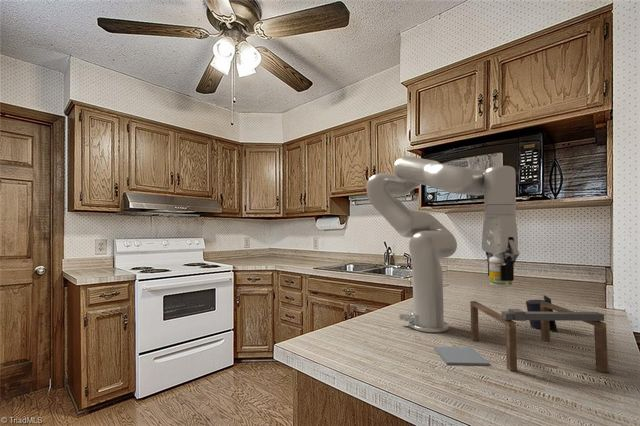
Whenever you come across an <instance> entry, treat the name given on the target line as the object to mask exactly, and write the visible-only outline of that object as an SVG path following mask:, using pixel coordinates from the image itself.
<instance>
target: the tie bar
mask: <svg viewBox="0 0 640 426" xmlns="http://www.w3.org/2000/svg"><path fill="white" fill-rule="evenodd" d="M500 314H501V315H502V318H503V319H505V320H512V321H514V322H521V321H523V322H525V321H529V320H554V321H555V322H556V321H560V322H561V321H565V322H566V321H570V322H571V321H573V322H574V321H578V322H579V321H580V322H583V321H601V322H604V321H605V313H601V312H599V311H573V312H557V311H553V312H530V311H527V310H526V311H524V310H522V309H520V308H508V309H507V311H506V310H503V311H501V313H500Z"/></svg>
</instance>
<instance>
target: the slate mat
mask: <svg viewBox="0 0 640 426" xmlns="http://www.w3.org/2000/svg"><path fill="white" fill-rule="evenodd" d="M433 349H434V350H435V352H436V353H437V355H438V356H440V358H441V360H442V361H444V363H445V364H446V365H447V366H449V365H450V366H453V365H455V366H456V365H458V366H462V365H464V366H490V364H491V363H490V362H489V361H488V360H487V359H485V358H484V357H483V356H482V355H481V354H480V353H479V352H478V351H477V350H475V349H474V348H473V347H472V346H469V347H468V346H434V347H433Z"/></svg>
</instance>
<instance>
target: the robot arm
mask: <svg viewBox="0 0 640 426" xmlns="http://www.w3.org/2000/svg"><path fill="white" fill-rule="evenodd" d="M393 172H394V174H391V173H383V172H382V173H381V172H380V173H376V174H373V175H372V176H371V177H369V179H368V180H367V183H366V195H367V198H368V200H369V202H370V204H371V205H372V207H373V208H374V209H375V210H376V211H377V212H378V213H379V214H380V215H381V216H382V217H383V218H384V219H385V220H386V221H387V223H388V224H389V225H390V226H392V228H393V229H394V230H395V231H396V232H397V233H398V235H399V236H401V237H403V238H409V242H408V244H409V245H408V250H409V254H410V259H411V269H412V307H413V308H412V310H410V312H408V313H399V314H398V320H403V321H404V322H408V326H409V327H410V328H412V329H414V330H417V331H420V332H425V333H443V332H447V331H449V330H450V325H449V323H448V322H446V321H444V320H445V318H444V316H445V315H444V314H445V313H444V310H445V309H444V273H443V268H442V265H441V262H440V259H443V258H444V259H445V258H449V257H451V256H454V254H455V253H456V251H457V248H458V243H457V239H456V238H455V236H454V234H453V233H452V231H450V230H449V229H448V228H447V227H446V226H444V225H443V223H441V221H439V220H438V219H437V218H436V217H435V216H434V215H432V214H431V213H428V212H426V211H415V210H411V209H410V208H408V207H407V206H406V205H405V204H404V203H403V202H402V201H401V200H399V199H398V197H399V198H400V197H403V196H406V195H408V194H409V193H410V192H412V191H413V190H415V189H416V188H418V187H419V186H420V185H422V186H427V187H430V188H434V189H437V190H440V191H443V192H448V193H452V194H457V195H467V196H476V197H477V196H483V198H484V200H483V202H484V203H483V205H484V206H483V207H484V209H483V211H484V217H483V218H484V220H483V225H482V231H481V232H482V233H481V236H482V237H481V249H482V251H483V252H485V255H486V261H487V276H488V277H489V259H490V257H493V254H492V253H494V254H500V256H501V261H502V265H500V279H501V280H502V281H512V282H513V281H514V280H515V279H514V277H515V275H514V274H515V273H514V272H515V270H514V266H515V265H516V260H517V258H519V256H520V251H519V237H518V226H517V225H518V224H517V219H516V217H517V200H516V199H517V197H516V195H517V191H516V190H517V187H516V186H517V185H516V184H517V183H516V182H517V181H516V179H517V178H516V176H517V175H516V169H515V168H514V167H513V166H510V165H497V166H496V165H495V166H491V167H487V168H486V169H485V170H479V169H474V168H469V167H462V166H455V165H451V164H450V165H449V164H445V163H441V162H439V161H437V160H432V159H426V158H422V157H421V158H420V157H415V156H408V155H407V156H401V157H399V158H398V159H397V160H396V161H395V162H394V164H393ZM505 251H508V252H509V253H504V252H505ZM505 256H508V257H507V258H505Z"/></svg>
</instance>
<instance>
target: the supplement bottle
mask: <svg viewBox="0 0 640 426" xmlns="http://www.w3.org/2000/svg"><path fill="white" fill-rule="evenodd" d="M504 253H509V252H508V251H505V252H504ZM492 254H493V257H490V259H489V276H488V278H489V279H488V280H489V285H491V286H494V287H498V288H499V287H500V288H510V287H512V286H513V281H502V280H501V279H500V265H502V261H501V256H500V254H494V253H492ZM507 257H508V256H505V258H507Z"/></svg>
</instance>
